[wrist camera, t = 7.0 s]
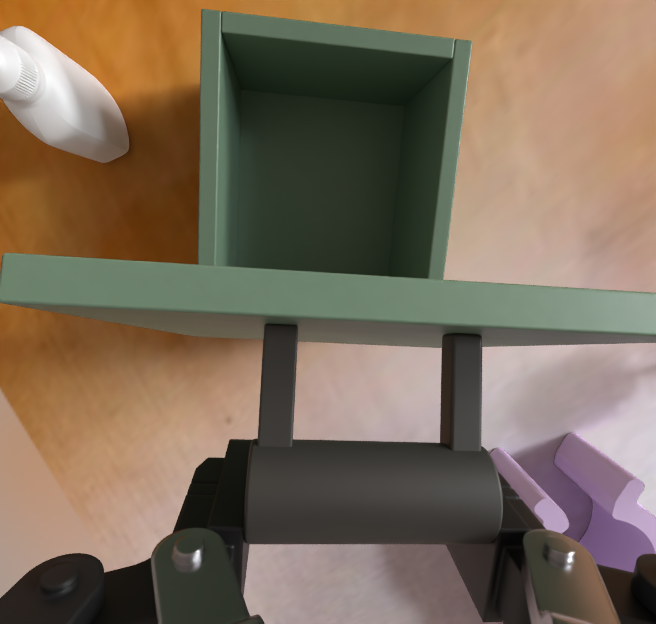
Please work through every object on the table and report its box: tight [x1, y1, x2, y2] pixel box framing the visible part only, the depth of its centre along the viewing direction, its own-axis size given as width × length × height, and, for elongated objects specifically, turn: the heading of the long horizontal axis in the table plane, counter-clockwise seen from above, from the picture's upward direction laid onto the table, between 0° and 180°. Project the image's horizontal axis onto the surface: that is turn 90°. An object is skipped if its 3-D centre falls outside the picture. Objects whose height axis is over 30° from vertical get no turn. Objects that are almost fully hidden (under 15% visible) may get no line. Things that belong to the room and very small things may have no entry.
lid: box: [0, 253, 656, 544], centre depth 15 cm, size 16×13×5 cm
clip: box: [490, 433, 656, 572], centre depth 36 cm, size 20×12×7 cm, turn 10°
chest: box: [198, 9, 472, 280], centre depth 27 cm, size 15×13×10 cm
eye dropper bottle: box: [0, 26, 129, 163], centre depth 23 cm, size 4×6×12 cm
